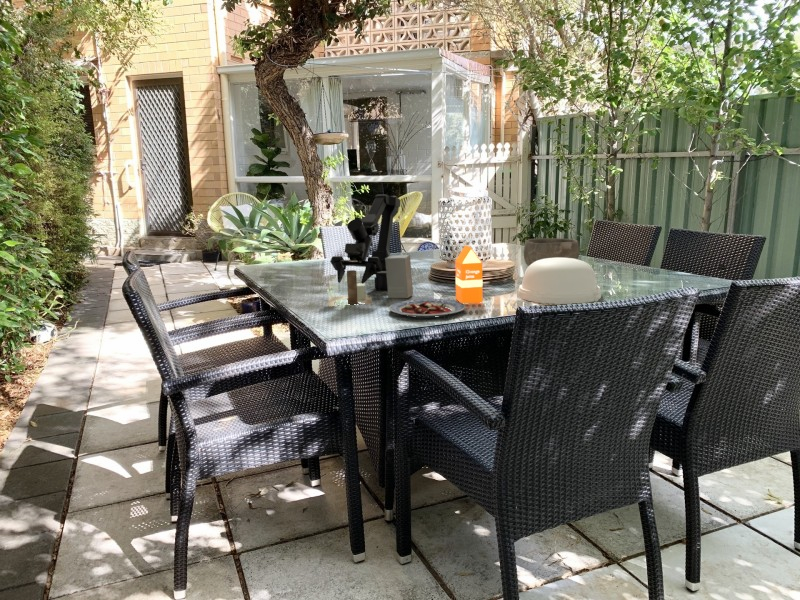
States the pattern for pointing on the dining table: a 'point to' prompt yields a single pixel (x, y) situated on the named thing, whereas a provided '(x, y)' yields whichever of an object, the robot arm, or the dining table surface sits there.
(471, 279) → the orange juice
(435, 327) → the dining table surface
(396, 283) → the skincare box
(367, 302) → the board
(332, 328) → the dining table surface
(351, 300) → the peg
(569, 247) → the bowl
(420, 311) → the ceramic plate
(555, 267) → the dome cover
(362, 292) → the grey green block
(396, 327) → the dining table surface
